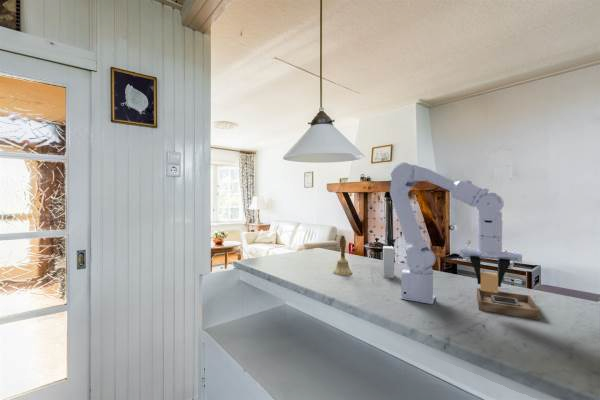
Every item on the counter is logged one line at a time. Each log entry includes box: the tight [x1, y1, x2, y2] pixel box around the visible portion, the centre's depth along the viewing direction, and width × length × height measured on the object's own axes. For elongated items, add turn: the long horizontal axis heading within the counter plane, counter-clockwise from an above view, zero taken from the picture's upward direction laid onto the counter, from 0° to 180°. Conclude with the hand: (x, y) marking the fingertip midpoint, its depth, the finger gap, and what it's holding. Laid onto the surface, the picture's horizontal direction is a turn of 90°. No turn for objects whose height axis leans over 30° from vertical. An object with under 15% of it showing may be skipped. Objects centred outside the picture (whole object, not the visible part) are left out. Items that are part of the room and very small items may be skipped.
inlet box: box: [476, 287, 541, 321], centre depth 88 cm, size 14×14×2 cm
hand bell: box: [332, 235, 353, 276], centre depth 125 cm, size 8×8×16 cm
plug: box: [479, 270, 499, 293], centre depth 81 cm, size 4×4×4 cm
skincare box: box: [381, 245, 396, 279], centre depth 120 cm, size 6×4×12 cm
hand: (488, 284), depth 82 cm, fingers closed on plug, 4 cm apart
